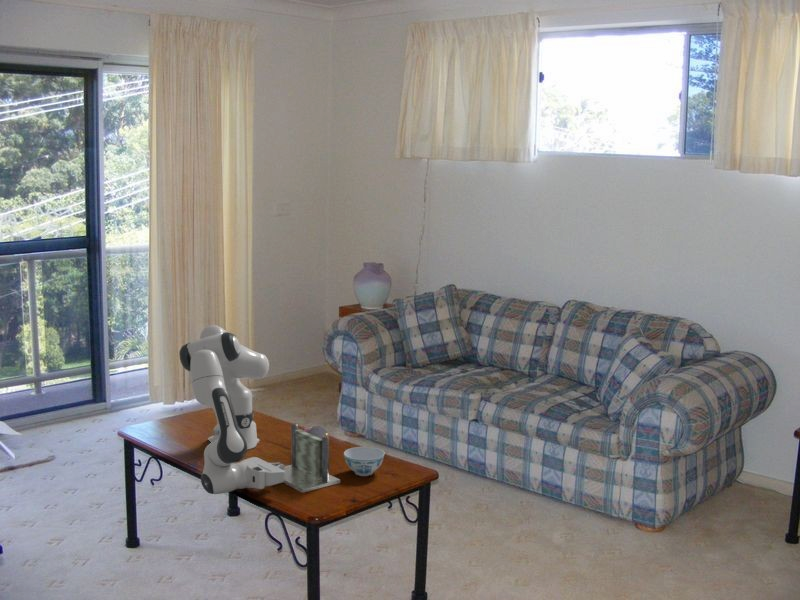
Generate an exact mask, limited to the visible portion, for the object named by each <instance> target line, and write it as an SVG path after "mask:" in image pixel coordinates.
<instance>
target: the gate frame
mask: <svg viewBox="0 0 800 600" xmlns="http://www.w3.org/2000/svg"><path fill="white" fill-rule="evenodd" d="M290 426H291V427H290V428H291V464H289V465H285V468H284V469H283V470H284V471H285V480H284V481H283V482H282V483H283V484H285V485H287V486H289V487H291V488H293V489H295V490H296V491H298V492H300V493H301V494H304V493H306V492H311V491H314V490H319V489H323V488H326V487H330V486H334V485H337V484H338V485H339V484H341V479H340V478H338V477H336V476H334V475H331V474H330V436H329V433H328V432H327V433H328V434H327V433H324V434H323V437H322V477H321V478H318V477H316V476H315V475H313V474H311V473H309V472H307V471H305V470H303V469H301V468H299V467H297V466H296V435H295V430H299V424H298V423H292V424H291V425H290Z"/></svg>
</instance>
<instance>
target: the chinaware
mask: <svg viewBox="0 0 800 600" xmlns="http://www.w3.org/2000/svg"><path fill="white" fill-rule="evenodd" d="M343 457H344V460H345V462H346V465H347V466H348V467H349V468H350V470H352V471H353V472H354V474H355V475H356V476H358V475H359V476H360V477H368V476H369V475H370V476H372V475H373V474H374V472H375V471H376V470H377V469H379V468H380V467H381V465H382V463H383V461H384V459H385V458H384V457H385V451H384V450H383V449H380V448H378V447H373V446H356V447H351V448H348V449H346V450H344V452H343Z"/></svg>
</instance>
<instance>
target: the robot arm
mask: <svg viewBox="0 0 800 600" xmlns="http://www.w3.org/2000/svg"><path fill="white" fill-rule="evenodd" d="M179 360H180V361H179V362H180V363H181V365H182V367H183V369H184V370H186V371H188V372H190V381H191V382H190V383H191V388H192V392H193V395H194V398H195V400H196V401H197V402H198V403H199V404H200V405H203V406H205V407H210V408H212V410H213V411H214V414H215V418H216V422H217V424H215V426H214V427H213V431H212V436H209V437H208V438H207V441H208V440H209V441H210V442H211V443H210V442H209V441H208V442H209V444H207V445H206V447H205V448H204V451H203V459H204V464H203V471H202V473H201V476H200V482H201V486H202V488H203V489H204V491H205V492H207V493H208V494H211V495H220V494H221V495H222V494H226V493H230V492H234V491H235V490H237V489H239V490H240V489H241V490H242V489H246V488H248V489H249V488H250V489H251V488H252V489H255V490H263V489H266V488H265V487H270V486H275V485H278V484H281V483H283V481H284V480H285V471H284V470H283V469H284V468H285V466H286V465H285V464H283V463H282V462H280V461H279V462H268V461H266V460H263V459H261V458H259V456H258V457H256V456H252V457H248V458H246V459H244V458H245V456H246V455H247V451H248V450H251V449H253V448H255V447H257V444H258V443H260V442H259V441H260V439H259V438H258V437H257V436H258V434H257V424H256V422H255V421H254V410H253V394H252V391H251V390H250V389H249V388H248V387H246V386H245V385H244V384H243V383H242V382H241V381H240V380H243V379H244V380H258V379H263V378H265V377H266V376H267V374H268V372H269V371H270V361H269V359H268V357H267V356H266V355H265V354H264V353H260V352H258V351H255V350H252V349H251V348H249V347H246V346H245V345H242V344H241V343H240V341H239V340H238V338H237V336H236V335H235V334H233V333H232V332H228V331H227V330H226V329H224V328H223V327H221V326H219V325H216V324H211V325H208V326H206V327H204V328H203V330H202V331H201V332H200V336H199V339H198V340H194V341H192V342H187V343H185V344H184V345H182V346H181V347H180V350H179Z"/></svg>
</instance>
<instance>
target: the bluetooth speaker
mask: <svg viewBox="0 0 800 600" xmlns="http://www.w3.org/2000/svg"><path fill="white" fill-rule="evenodd" d="M308 433H309V434H311V435H314V436H316V437H318V438H320V439H322V437H323V434H324V433H327V434H328V435H329V433H328V431H327V429H325V427H323V426H320V425H316V426H312V428H311V429H310V430H309V432H308Z"/></svg>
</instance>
